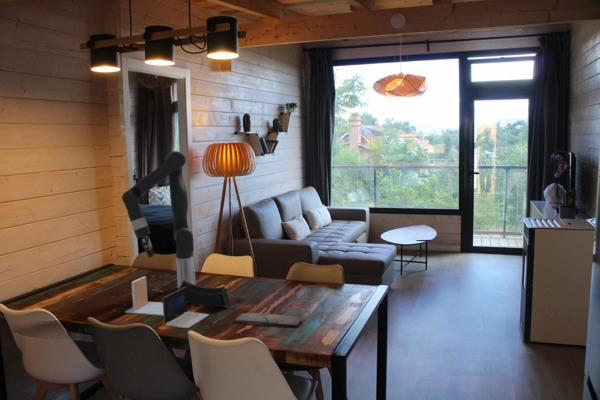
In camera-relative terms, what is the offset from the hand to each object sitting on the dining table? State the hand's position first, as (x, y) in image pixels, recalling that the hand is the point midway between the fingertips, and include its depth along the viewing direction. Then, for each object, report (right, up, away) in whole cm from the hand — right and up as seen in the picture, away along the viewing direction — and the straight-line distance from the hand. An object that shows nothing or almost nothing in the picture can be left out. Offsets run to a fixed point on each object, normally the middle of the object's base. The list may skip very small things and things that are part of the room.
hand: (151, 256), depth 277 cm
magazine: (+29, -23, -14) cm, 40 cm away
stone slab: (+64, -25, -41) cm, 80 cm away
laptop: (+26, -26, -35) cm, 51 cm away
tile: (-1, -23, -16) cm, 28 cm away
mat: (+6, -24, -18) cm, 30 cm away
